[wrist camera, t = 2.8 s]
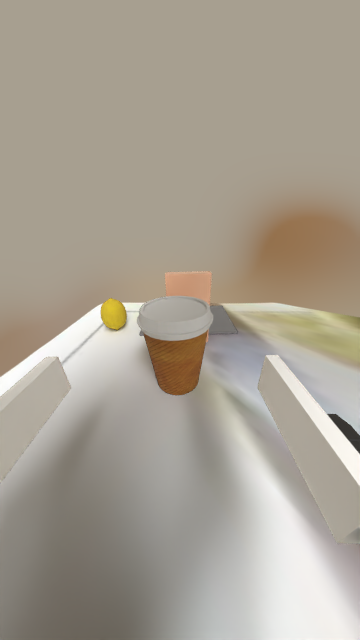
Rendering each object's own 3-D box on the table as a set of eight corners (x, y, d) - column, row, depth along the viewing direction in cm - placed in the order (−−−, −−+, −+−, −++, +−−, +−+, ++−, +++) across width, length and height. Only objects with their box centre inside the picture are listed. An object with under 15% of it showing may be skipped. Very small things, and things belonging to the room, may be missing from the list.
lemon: (113, 338, 37) (105, 304, 34) (100, 331, 40) (92, 299, 37) (133, 328, 41) (128, 297, 37) (120, 322, 44) (114, 293, 41)
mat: (222, 306, 52) (222, 305, 51) (237, 333, 37) (237, 332, 37) (151, 308, 52) (151, 307, 52) (139, 335, 38) (139, 333, 38)
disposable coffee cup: (134, 382, 25) (119, 310, 20) (174, 352, 32) (171, 291, 27) (183, 420, 20) (180, 334, 15) (220, 374, 26) (227, 303, 21)
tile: (206, 336, 37) (209, 270, 31) (207, 341, 35) (211, 273, 29) (170, 336, 37) (166, 272, 31) (169, 342, 35) (164, 274, 29)
